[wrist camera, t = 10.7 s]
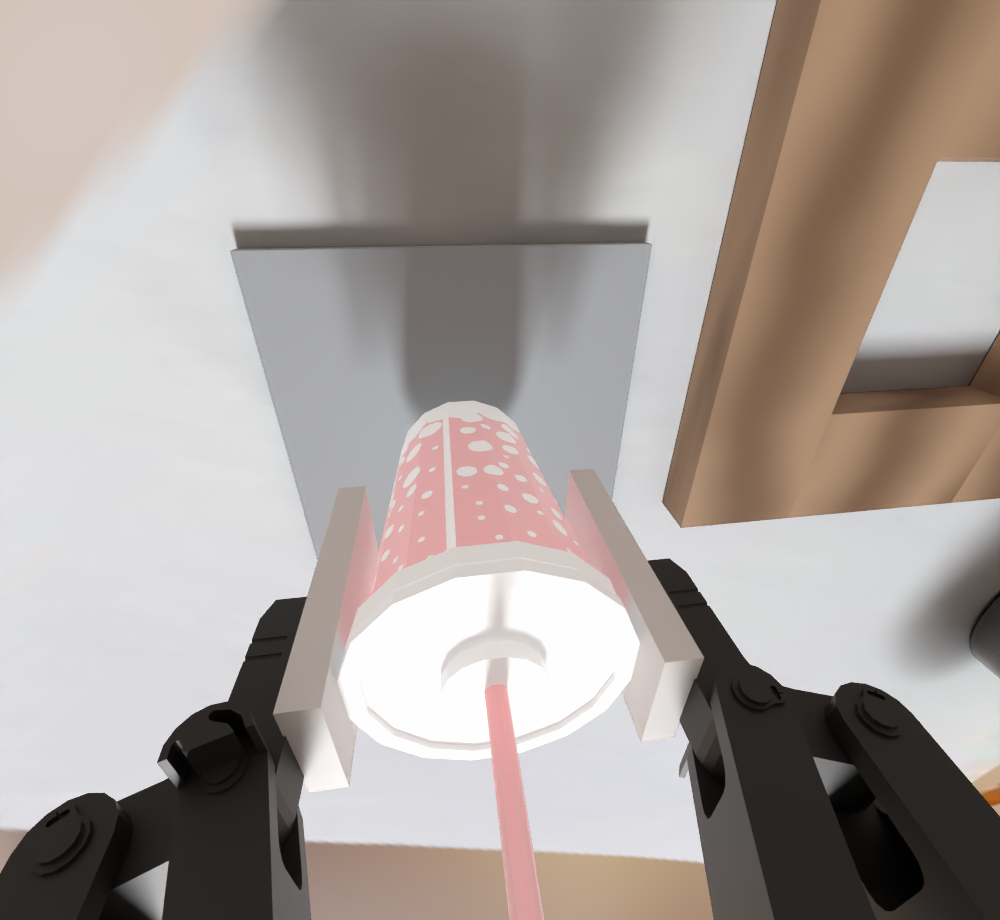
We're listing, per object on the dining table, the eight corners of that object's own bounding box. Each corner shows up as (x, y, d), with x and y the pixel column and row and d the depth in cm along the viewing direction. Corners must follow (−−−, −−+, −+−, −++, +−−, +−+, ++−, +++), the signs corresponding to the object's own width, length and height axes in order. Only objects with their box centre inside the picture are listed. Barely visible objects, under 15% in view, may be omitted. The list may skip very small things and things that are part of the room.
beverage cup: (410, 537, 18) (379, 1175, 7) (352, 404, 15) (82, 1192, 3) (555, 500, 18) (787, 1067, 7) (529, 359, 15) (895, 978, 3)
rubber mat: (644, 242, 16) (652, 244, 16) (600, 538, 24) (604, 545, 23) (236, 248, 15) (229, 250, 14) (323, 563, 22) (321, 572, 21)
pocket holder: (1350, -37, 15) (1468, -66, 13) (1001, 473, 25) (1043, 494, 23) (794, -77, 13) (852, -119, 11) (662, 502, 23) (681, 527, 21)
